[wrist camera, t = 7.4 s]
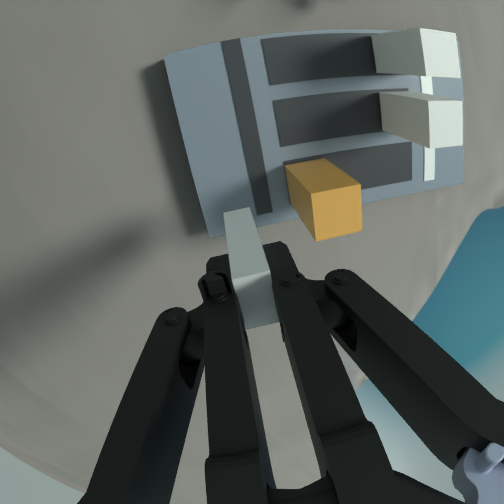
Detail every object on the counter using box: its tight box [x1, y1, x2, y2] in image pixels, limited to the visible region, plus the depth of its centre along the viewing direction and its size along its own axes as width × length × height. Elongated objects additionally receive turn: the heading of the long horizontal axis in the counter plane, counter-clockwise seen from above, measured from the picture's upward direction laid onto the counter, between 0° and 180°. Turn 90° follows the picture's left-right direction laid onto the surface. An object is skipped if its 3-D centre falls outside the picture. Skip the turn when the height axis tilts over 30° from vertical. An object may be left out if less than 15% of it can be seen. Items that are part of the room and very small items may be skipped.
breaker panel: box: [163, 28, 464, 238], centre depth 19 cm, size 24×14×8 cm, turn 101°
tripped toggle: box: [285, 158, 362, 241], centre depth 20 cm, size 3×3×6 cm
